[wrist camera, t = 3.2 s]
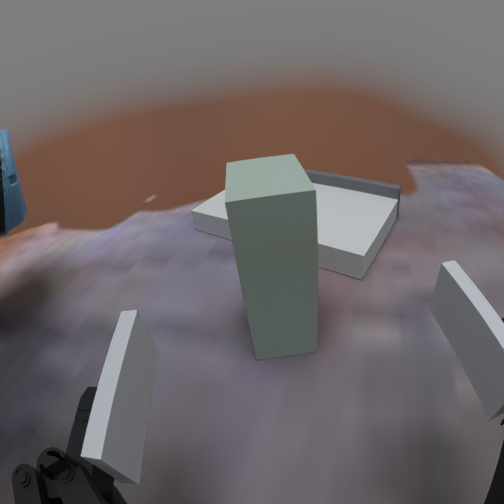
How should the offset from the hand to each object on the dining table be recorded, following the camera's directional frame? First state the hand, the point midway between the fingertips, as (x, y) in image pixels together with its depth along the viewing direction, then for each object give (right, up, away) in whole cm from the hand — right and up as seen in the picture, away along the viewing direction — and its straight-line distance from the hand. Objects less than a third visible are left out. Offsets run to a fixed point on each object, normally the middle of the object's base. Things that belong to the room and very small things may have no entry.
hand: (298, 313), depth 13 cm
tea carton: (+1, -4, +15) cm, 15 cm away
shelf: (+4, +6, +29) cm, 30 cm away
